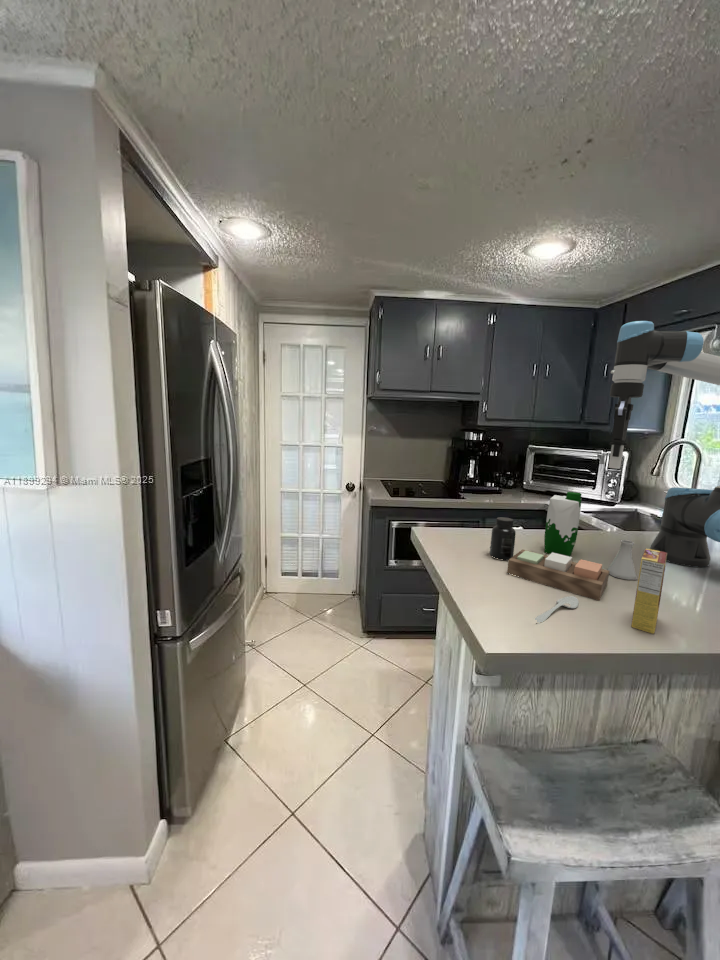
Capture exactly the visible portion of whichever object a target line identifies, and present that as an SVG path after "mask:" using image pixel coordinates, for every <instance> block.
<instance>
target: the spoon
mask: <svg viewBox="0 0 720 960" xmlns="http://www.w3.org/2000/svg"><path fill="white" fill-rule="evenodd" d="M556 603H557V604H555V606H552V608H549V609H548V610H546V611H545V612H543V613H541V614H538V615H537V616H536V618H535V617H534V618H535V620H537V622H539V624H541V623H540V622H542V623H543V621H544V622H545V621H546V620H548V618H549V617H550V616H551V615H552V614H553V612H555V611H556V610H557V609H559V608H560V607H564V608H568V609H576V608H577V607H579V604H580V602H579V599H578V598H577V597H576V596H573V595H570V596H568V595H567V596H564V597H562V598H559V599H557V600H556ZM566 604H568V605H566ZM569 605H570V606H569Z"/></svg>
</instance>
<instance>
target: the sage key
mask: <svg viewBox="0 0 720 960" xmlns="http://www.w3.org/2000/svg"><path fill="white" fill-rule="evenodd" d="M524 550H525V551H524V552H523V553H522V554H520V555H519V556H518V557H517V559H518V560H521V561H525V562H529V563H533V564H538V563H540V562H541V561H542V560H543V558H544V555H545V554H544V555H542V554H543V553H540V554H538V553H539V552H536V553H534V551H531V550H527V549H524ZM526 550H527V551H526ZM530 551H531V552H530Z"/></svg>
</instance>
